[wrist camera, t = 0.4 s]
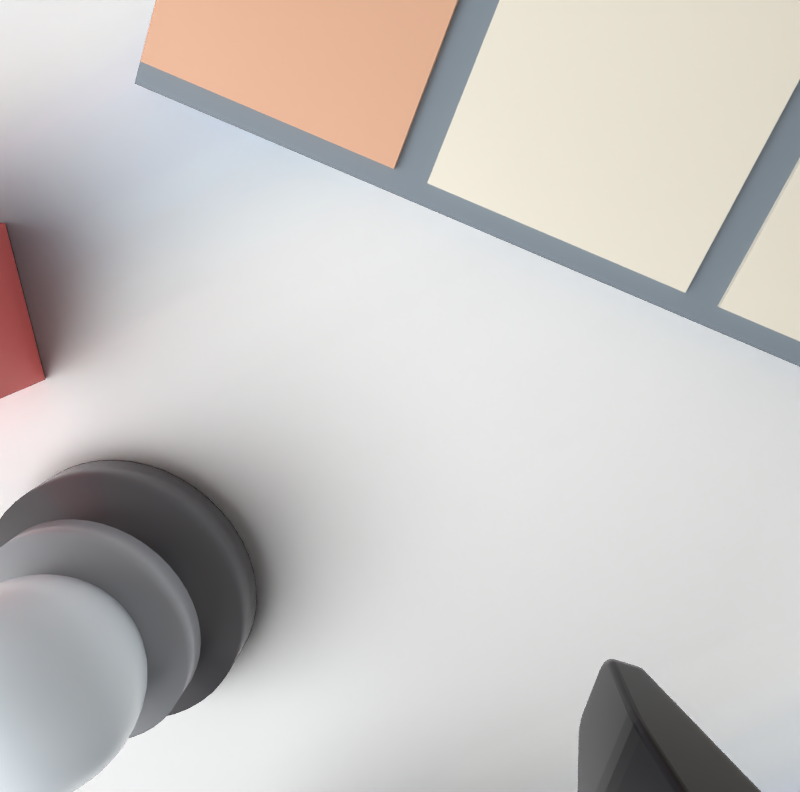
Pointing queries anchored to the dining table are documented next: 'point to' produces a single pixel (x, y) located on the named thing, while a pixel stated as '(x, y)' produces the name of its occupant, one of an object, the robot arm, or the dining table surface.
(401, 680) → the dining table surface
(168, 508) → the base
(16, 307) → the red die
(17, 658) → the dome popper
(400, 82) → the game board
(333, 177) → the dining table surface
